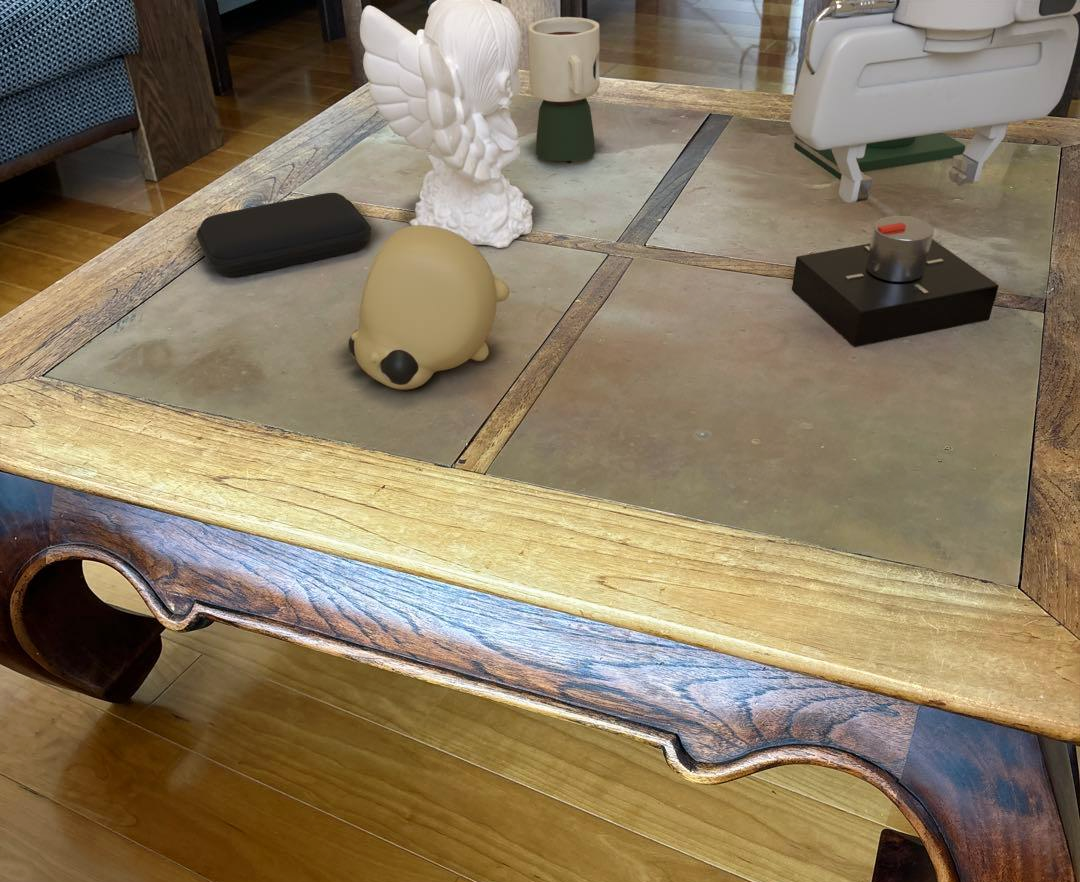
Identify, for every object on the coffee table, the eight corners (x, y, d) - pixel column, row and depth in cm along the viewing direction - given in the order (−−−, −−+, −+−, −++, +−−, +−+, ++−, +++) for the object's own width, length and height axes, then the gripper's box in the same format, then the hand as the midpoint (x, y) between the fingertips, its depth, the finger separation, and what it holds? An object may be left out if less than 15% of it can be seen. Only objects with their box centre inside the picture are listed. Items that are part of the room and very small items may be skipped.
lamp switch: (900, 131, 112) (907, 93, 109) (960, 167, 104) (970, 127, 101) (793, 148, 109) (798, 109, 107) (847, 185, 101) (854, 145, 99)
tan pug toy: (404, 379, 83) (296, 329, 75) (478, 247, 81) (375, 182, 73) (466, 431, 77) (355, 383, 69) (548, 290, 74) (443, 223, 67)
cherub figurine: (565, 238, 94) (562, -2, 81) (445, 274, 89) (421, 26, 76) (494, 192, 102) (481, -32, 89) (381, 223, 98) (349, -9, 85)
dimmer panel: (917, 266, 88) (925, 231, 86) (989, 320, 80) (1000, 283, 78) (791, 289, 85) (796, 254, 83) (854, 347, 78) (861, 310, 76)
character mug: (612, 172, 105) (615, 36, 97) (546, 181, 104) (542, 44, 96) (583, 137, 114) (583, 8, 105) (521, 144, 112) (515, 15, 104)
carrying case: (346, 210, 100) (194, 240, 96) (341, 179, 98) (186, 209, 94) (379, 252, 93) (216, 287, 88) (374, 220, 91) (208, 254, 86)
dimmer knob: (903, 253, 83) (913, 208, 80) (935, 277, 80) (946, 230, 77) (855, 262, 82) (864, 216, 79) (885, 286, 79) (895, 239, 76)
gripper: (838, 13, 63) (804, 227, 72) (1113, -18, 67) (1049, 187, 77) (789, -11, 68) (763, 194, 77) (1050, -38, 72) (996, 158, 81)
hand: (908, 190), depth 77 cm, fingers open, 8 cm apart
